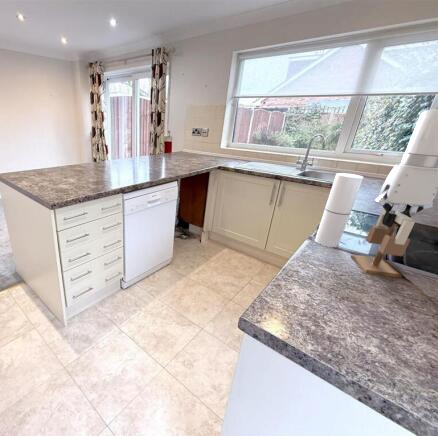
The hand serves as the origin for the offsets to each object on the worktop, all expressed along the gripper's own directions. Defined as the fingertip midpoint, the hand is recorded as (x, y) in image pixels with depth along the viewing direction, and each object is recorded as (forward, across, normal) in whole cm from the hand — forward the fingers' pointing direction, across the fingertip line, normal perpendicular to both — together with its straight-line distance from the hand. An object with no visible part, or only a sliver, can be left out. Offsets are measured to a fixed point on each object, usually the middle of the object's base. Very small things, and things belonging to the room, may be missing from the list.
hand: (392, 225), depth 70 cm
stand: (+14, 0, 0) cm, 14 cm away
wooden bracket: (+7, 0, 0) cm, 7 cm away
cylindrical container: (+14, +8, -14) cm, 22 cm away
